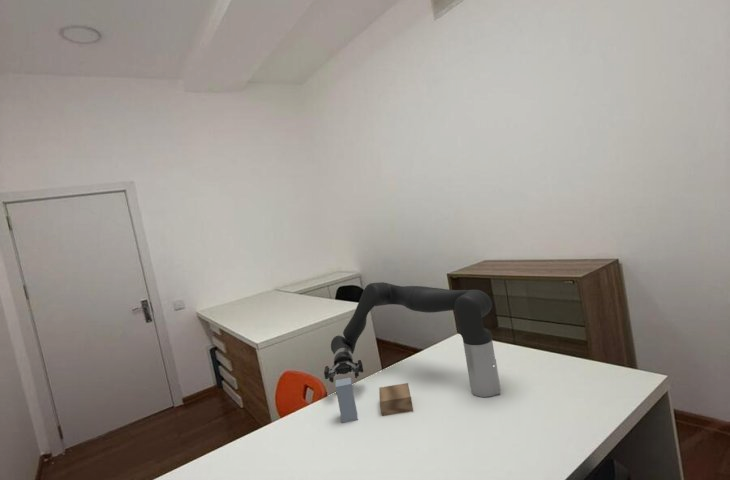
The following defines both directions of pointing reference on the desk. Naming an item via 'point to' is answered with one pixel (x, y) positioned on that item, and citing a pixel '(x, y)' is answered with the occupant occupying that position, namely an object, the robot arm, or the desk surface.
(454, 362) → the desk surface
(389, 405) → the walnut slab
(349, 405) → the slate pillar
